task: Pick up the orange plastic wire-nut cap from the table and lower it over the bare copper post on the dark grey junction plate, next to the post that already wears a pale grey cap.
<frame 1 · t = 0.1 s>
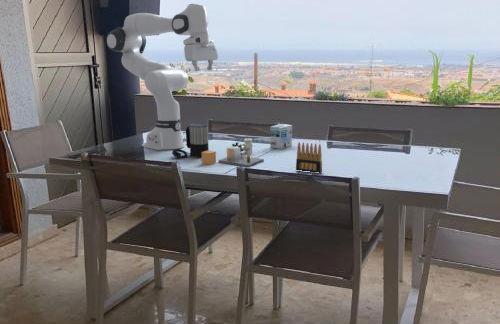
hand: (203, 70, 219), 39 cm above the table, tool pointing down, fingers open, 8 cm apart
junction plate: (241, 161, 208), on the table
milk frother: (191, 157, 219), on the table
orange cap: (208, 163, 206), on the table
ammunition clip: (308, 172, 190), on the table
valve: (243, 154, 223), on the table
light bulb box: (281, 146, 239), on the table
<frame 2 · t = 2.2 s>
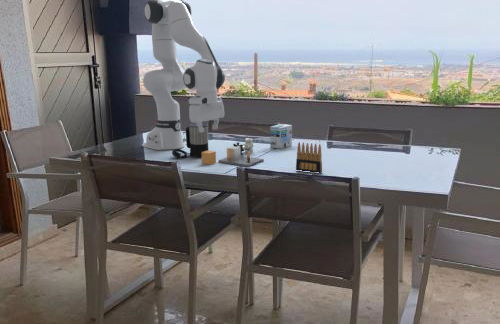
hand: (208, 130, 202), 14 cm above the table, tool pointing down, fingers open, 8 cm apart
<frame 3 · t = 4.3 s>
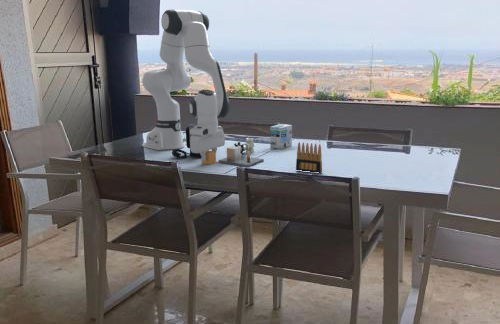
hand: (208, 159, 206), 2 cm above the table, tool pointing down, fingers closed on orange cap, 4 cm apart
orange cap: (208, 163, 206), on the table, touching gripper
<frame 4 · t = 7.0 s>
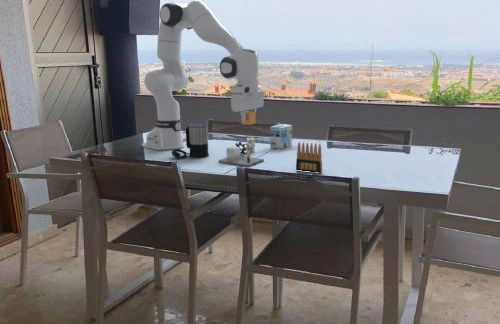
hand: (248, 120, 201), 19 cm above the table, tool pointing down, fingers closed on orange cap, 4 cm apart
orange cap: (248, 123, 201), point 17 cm above the table, touching gripper
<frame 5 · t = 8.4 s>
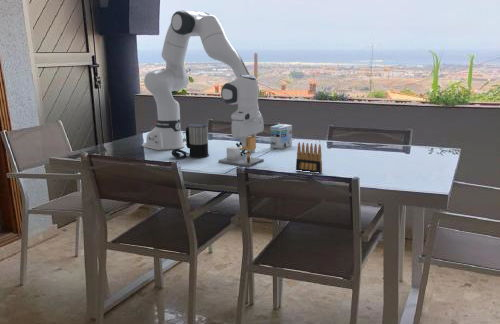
hand: (248, 145, 204), 8 cm above the table, tool pointing down, fingers closed on orange cap, 4 cm apart
orange cap: (248, 148, 204), point 6 cm above the table, touching gripper
when the fingers open (4 cm above the table, at t = 9.6 s): orange cap drops 1 cm, resting on junction plate.
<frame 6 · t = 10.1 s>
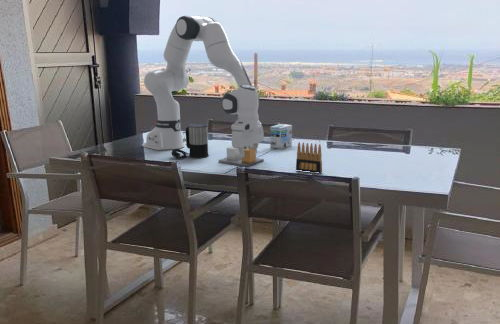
hand: (248, 155, 205), 4 cm above the table, tool pointing down, fingers open, 8 cm apart
orange cap: (248, 160, 205), point 1 cm above the table, touching junction plate
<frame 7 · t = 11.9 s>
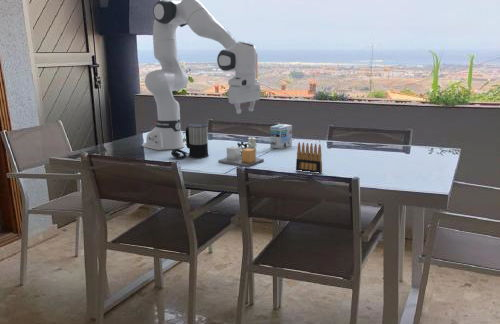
hand: (245, 112, 206), 22 cm above the table, tool pointing down, fingers open, 8 cm apart
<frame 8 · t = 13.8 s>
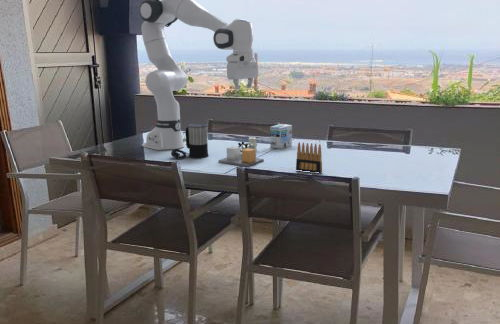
hand: (243, 88, 211), 31 cm above the table, tool pointing down, fingers open, 8 cm apart
at the end: orange cap 0.0 cm from the target spot on the junction plate, point 1.0 cm above the junction plate's base; orange cap tilted 0°; the gripper is holding nothing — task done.
